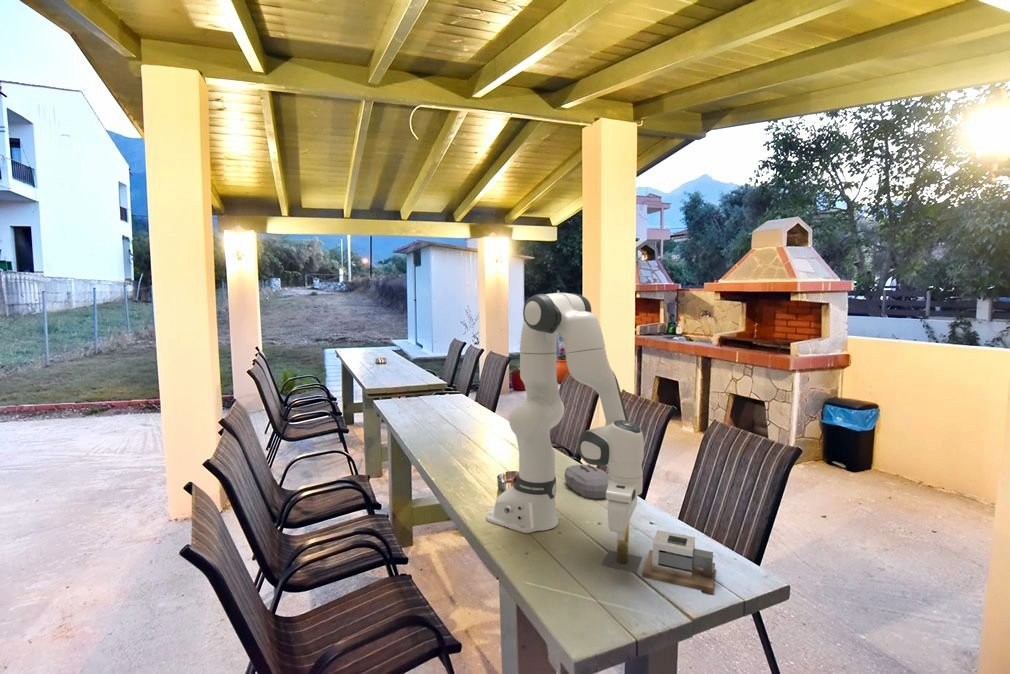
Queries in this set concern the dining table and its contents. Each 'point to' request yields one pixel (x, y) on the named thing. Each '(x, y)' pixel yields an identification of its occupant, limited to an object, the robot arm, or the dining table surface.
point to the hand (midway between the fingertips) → (623, 535)
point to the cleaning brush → (587, 480)
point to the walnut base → (681, 577)
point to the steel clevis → (679, 555)
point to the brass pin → (623, 547)
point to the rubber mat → (630, 566)
